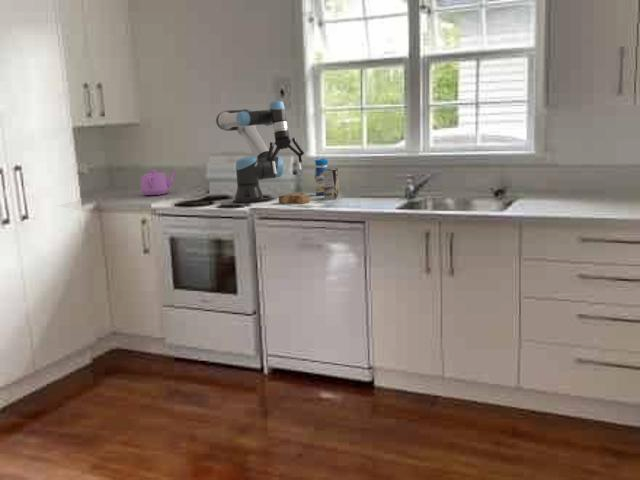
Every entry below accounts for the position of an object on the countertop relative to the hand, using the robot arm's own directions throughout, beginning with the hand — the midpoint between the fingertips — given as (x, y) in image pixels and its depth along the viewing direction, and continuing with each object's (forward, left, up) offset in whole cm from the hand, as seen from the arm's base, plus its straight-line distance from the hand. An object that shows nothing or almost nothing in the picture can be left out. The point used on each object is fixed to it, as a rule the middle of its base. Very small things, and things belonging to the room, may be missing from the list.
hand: (287, 171), depth 350 cm
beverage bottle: (+1, +23, -16) cm, 28 cm away
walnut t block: (+9, -3, -15) cm, 18 cm away
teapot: (-99, -22, -16) cm, 102 cm away
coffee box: (+15, +16, -16) cm, 28 cm away
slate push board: (+14, -3, -16) cm, 22 cm away
